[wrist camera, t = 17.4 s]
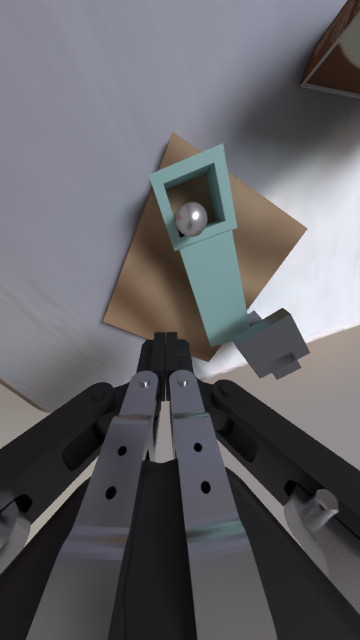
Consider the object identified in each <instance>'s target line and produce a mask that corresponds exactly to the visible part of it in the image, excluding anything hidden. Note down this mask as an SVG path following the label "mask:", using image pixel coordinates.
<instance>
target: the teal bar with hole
mask: <svg viewBox="0 0 360 640" xmlns="http://www.w3.org/2000/svg"><path fill="white" fill-rule="evenodd" d="M203 174H206V178H207V182H208V187H209V191H210V196H211V201H212V205H213V210H214V215H215V219H216V221H214V222H211V223H209V224H207V225H206V227H205V229H204V231H203V232H202V233H201V234H200V235H198V236H195V237H188V236H185V235H184V234H180V235H179V232H178V229H177V226H176V223H175V219H174V216H173V213H172V210H171V207H170V203H169V200H168V197H167V194H166V191H165V190H167V189H169V188H172V187H174V186H177V185H179V184H181V183H184V182H186V181H189V180H191V179H194V178H196V177H199V176H201V175H203ZM149 178H150V181H151V184H152V186H153V189H154V192H155V195H156V198H157V201H158V204H159V207H160V210H161V213H162V216H163V219H164V222H165V225H166V228H167V231H168V234H169V237H170V240H171V243H172V246H173V249H174V251H176V250H180V253H181V256H182V259H183V262H184V265H185V269H186V272H187V275H188V278H189V281H190V284H191V287H192V290H193V293H194V296H195V299H196V303H197V306H198V309H199V312H200V315H201V318H202V321H203V324H204V327H205V330H206V333H207V336H208V340H209V343H210V346H211V347H213V346H216V345H220V344H223V343H226V342H230V341H233V340H232V338H233V337H234V336H236V335H238V334H239V333H241V332H243V331H244V330H246V329H248V328H249V327H250V326H249V321H248V315H247V310H246V304H245V299H244V293H243V288H242V282H241V277H240V271H239V266H238V261H237V255H236V250H235V244H234V239H233V233H232V230H233V229H236V228H237V223H236V217H235V211H234V205H233V199H232V194H231V188H230V182H229V176H228V170H227V164H226V158H225V152H224V146H223V143H222V144H220V145H217V146H215V147H213V148H210V149H208V150H206V151H203V152H201V153H199V154H196V155H194V156H191V157H189V158H187V159H184V160H182V161H180V162H177V163H175V164H173V165H170V166H168V167H166V168H163V169H161V170H159V171H156V172H154V173H152V174H149Z"/></svg>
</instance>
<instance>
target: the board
mask: <svg viewBox="0 0 360 640" xmlns="http://www.w3.org/2000/svg"><path fill="white" fill-rule="evenodd" d="M199 153H201V152H200V151H199V150H198V149H196V148H195V147H193V146H192V145H191V144H189V143H188V142H186V141H185V140H184V139H182V138H181V137H180V136H178V135H177V134H175V133H174V132H173V133H172V135H171V138H170V141H169V143H168V146H167V149H166V152H165V154H164V157H163V160H162V162H161V165H160V168H159V170H161V169H163V168H166V167H168V166H170V165H173V164H175V163H177V162H180V161H182V160H184V159H187V158H189V157H191V156H194V155H196V154H199ZM228 176H229V182H230V188H231V194H232V199H233V205H234V211H235V217H236V223H237V228H236V229H233V230H232V233H233V239H234V244H235V250H236V255H237V261H238V266H239V271H240V277H241V282H242V288H243V293H244V299H245V304H246V310H248V308H249V307H250V306H251V304H252V303H253V302H254V300H255V299H256V298H257V296H258V295H259V293H260V292H261V291H262V289H263V288H264V287H265V285H266V284H267V283H268V281H269V280H270V279H271V277H272V276H273V275H274V273H275V272H276V271H277V269H278V268H279V266H280V265H281V264H282V262H283V261H284V260H285V258H286V257H287V256H288V254H289V253H290V252H291V250H292V249H293V248H294V246H295V245H296V244H297V242H298V241H299V240H300V238H301V237H302V235H303V234H304V233H305V231H306V230H307V228H306V227H305V226H303V225H302V224H301V223H299V222H298V221H296V220H295V219H294V218H292V217H291V216H289V215H288V214H287V213H285V212H284V211H282V210H281V209H280V208H278V207H277V206H275V205H274V204H273V203H271V202H270V201H269V200H267V199H266V198H264V197H263V196H262V195H260V194H259V193H257V192H256V191H255V190H253V189H252V188H250V187H249V186H248V185H246V184H245V183H244V182H242V181H241V180H239V179H238V178H237V177H235V176H234V175H232V174H231V173H230V172H228ZM165 191H166V194H167V197H168V200H169V203H170V207H171V210H172V213H173V216H174V219H175V215H176V213H177V212H178V211H179V209H180V208H181V207H182V206H183V205H185V204H187V203H189V202H196V203H198V204H200V205H201V206H202V207H203V208H204V209H205V211H206V213H207V224H209V223H211V222H214V221H216V219H215V215H214V210H213V205H212V201H211V196H210V191H209V187H208V182H207V178H206V174H203V175H201V176H199V177H196V178H194V179H191V180H189V181H186V182H184V183H181V184H179V185H177V186H174V187H172V188H169V189H167V190H165ZM178 232H179V235H180V234H182V233H181V232H180V231H179V230H178ZM103 322H105V323H108V324H110V325H113V326H115V327H118V328H121V329H123V330H126V331H129V332H131V333H134V334H136V335H139V336H142V337H144V338H147V339H149V340H154V333H155V332H177V337H178V339H185V340H186V341H187V342H188V343H189V347H190V353H191V356H194V357H196V358H199V359H202V360H204V361H207V362H209V361H210V360H211V358H212V357H213V355H214V354H215V353H216V351H217V350H218V349H219V347H220V346H221V345H222V344H220V345H216V346H213V347H211V346H210V343H209V340H208V336H207V333H206V330H205V327H204V324H203V321H202V318H201V315H200V312H199V309H198V306H197V303H196V299H195V296H194V293H193V290H192V287H191V284H190V281H189V278H188V275H187V272H186V269H185V265H184V262H183V259H182V256H181V253H180V250H176V251H174V249H173V246H172V243H171V240H170V237H169V234H168V231H167V228H166V225H165V222H164V219H163V216H162V213H161V210H160V207H159V204H158V201H157V198H156V195H155V192H154V189H153V187H152V190H151V192H150V195H149V198H148V200H147V203H146V206H145V209H144V211H143V214H142V217H141V219H140V222H139V225H138V227H137V230H136V233H135V236H134V238H133V241H132V244H131V246H130V249H129V252H128V255H127V257H126V260H125V263H124V265H123V268H122V271H121V274H120V276H119V279H118V282H117V284H116V287H115V290H114V293H113V295H112V298H111V301H110V303H109V306H108V309H107V311H106V314H105V317H104V320H103Z"/></svg>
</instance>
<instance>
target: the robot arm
mask: <svg viewBox="0 0 360 640" xmlns="http://www.w3.org/2000/svg"><path fill="white" fill-rule="evenodd" d="M165 384H166V401H170V423H171V435H172V447H173V460H171V461H168V462H165V463H156V462H155V451H156V443H157V435H158V427H159V420H160V411H161V401H165ZM217 439H218V440H219V441H220V442H221V443H222V444H223V446H225V447H226V448H227V449H228V451H229V452H230V453H231V454H232V455H233V456H234V457H235V458H237V460H238V461H239V462H240V463H241V464H242V465H243V466H244V467H245V468H246V469H247V470H248V471H249V472H250V473H251V474H252V475H253V476H254V477H255V478H256V479H257V480H258V481H259V482H260V483H261V484H262V485H263V486H264V487H265V488H266V489H267V490H268V491H269V492H270V493H271V494H272V495H273V496H274V497H275V498H276V499H277V500H278V501H279V502H280V503H281V504H282V505H283V506H284V514H285V519H286V522H287V524H288V526H289V528H290V530H291V531H292V534H293V535H294V536H295V538H296V539H297V540H298V542H299V543H300V544H301V546H302V547H303V549H304V550H303V549H302V548H301V547H300V546H299V544H298V543H297V542H296V541H295V540H294V539H293V538H292V537H291V536H290V534H289V533H288V532H287V531H286V530H285V529H284V527H283V526H282V525H281V524H280V523H279V522H278V520H277V519H276V518H275V517H274V516H273V515H272V514H271V512H270V511H269V510H268V509H267V508H266V507H265V506H264V504H262V502H261V501H260V500H259V499H258V498H257V497H256V495H255V494H254V493H253V492H252V491H251V490H250V489H249V488H248V486H247V485H246V484H245V483H244V482H243V481H242V480H241V478H239V477H238V476H237V475H236V474H235V473H234V472H233V471H231V470H230V469H228V468H227V467H225V466H224V463H223V460H222V456H221V453H220V449H219V445H218V442H217ZM98 456H99V457H98ZM96 457H98V460H97V462H96V465H95V468H94V471H93V473H92V476H91V477H89V478H88V479H87V480H86V481H85V482H83V483H82V484H81V485H80V486H79V487H78V488H77V489H76V490H75V491H74V492H73V493H72V495H71V496H70V497H69V498H68V499H67V500H66V501H65V502H64V504H63V505H62V506H61V507H60V508H59V509H58V510H57V511H56V512H55V514H54V515H53V516H52V517H51V518H50V519H49V520H48V521H47V523H46V524H45V525H44V526H43V527H42V528H41V529H40V530H39V532H38V533H37V534H36V535H35V536H34V537H33V538H32V539H31V541H30V542H29V543H28V544H27V545H26V546H25V547H24V545H25V543H26V541H27V539H28V536H29V532H30V526H31V524H32V523H33V522H34V521H35V520H36V519H37V518H38V517H39V516H40V515H41V514H42V513H43V512H44V511H45V510H46V509H47V508H48V507H49V506H50V505H51V504H52V503H53V502H54V501H55V499H57V498H58V497H59V496H60V495H61V494H62V492H64V491H65V489H66V488H67V487H68V486H69V485H70V484H71V483H72V482H73V481H74V480H75V479H76V478H77V477H78V476H79V475H80V474H81V473H82V472H83V471H84V470H85V469H86V468H87V467H88V466H89V465H90V464H91V462H93V461H94V460H95V459H96ZM0 640H360V471H359V470H358V469H356V468H355V467H354V466H352V465H351V464H349V463H348V462H346V461H345V460H344V459H342V458H341V457H339V456H338V455H336V454H335V453H334V452H332V451H331V450H329V449H328V448H326V447H325V446H324V445H322V444H321V443H319V442H318V441H317V440H315V439H314V438H312V437H311V436H310V435H308V434H307V433H305V432H304V431H302V430H301V429H299V428H298V427H297V426H295V425H294V424H292V423H291V422H290V421H288V420H287V419H285V418H284V417H283V416H281V415H280V414H278V413H277V412H276V411H274V410H273V409H271V408H270V407H268V406H267V405H266V404H264V403H263V402H261V401H260V400H258V399H257V398H256V397H254V396H253V395H251V394H250V393H248V392H247V391H246V390H244V389H243V388H241V387H240V386H238V385H237V384H236V383H234V382H232V381H230V380H218V381H217V382H215V383H214V385H213V384H209V383H204V382H202V381H200V380H199V379H198V378H197V377H196V376H195V375H194V372H193V366H192V360H191V353H190V347H189V343H188V342H187V341H186V340H185V339H178V337H177V332H155V333H154V340H146V341H145V342H144V343H143V344H142V348H141V353H140V358H139V363H138V367H137V372H136V374H135V375H134V376H133V377H132V378H131V380H130V382H129V383H127V384H125V385H122V386H118V387H115V388H113V387H112V385H111V384H109V383H105V382H101V383H96V384H94V385H92V386H90V387H88V388H87V389H86V390H84V391H83V392H81V393H80V394H78V395H77V396H76V397H74V398H73V399H71V400H70V401H68V402H67V403H66V404H64V405H63V406H61V407H60V408H58V409H57V410H56V411H54V412H53V413H51V414H50V415H49V416H47V417H46V418H44V419H43V420H41V421H40V422H38V423H37V424H36V425H34V426H33V427H31V428H30V429H28V430H27V431H26V432H24V433H23V434H21V435H20V436H18V437H17V438H16V439H14V440H13V441H11V442H10V443H8V444H7V445H6V446H4V447H3V448H1V449H0Z"/></svg>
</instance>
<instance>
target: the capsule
mask: <svg viewBox="0 0 360 640" xmlns="http://www.w3.org/2000/svg"><path fill="white" fill-rule="evenodd" d="M175 223H176V226H177V229H178V230H179V231H180V232H181V233H182V234H184V235H185V236H188V237H195V236H198V235H200V234H201V233H202V232H203V231H204V229H205V227H206V225H207V213H206V211H205V209H204V208H203V207H202V206H201V205H200V204H198V203H196V202H189V203H187V204H185V205H183V206H182V207H181V208H180V209H179V211H178V212H177V213H176V215H175Z"/></svg>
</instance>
